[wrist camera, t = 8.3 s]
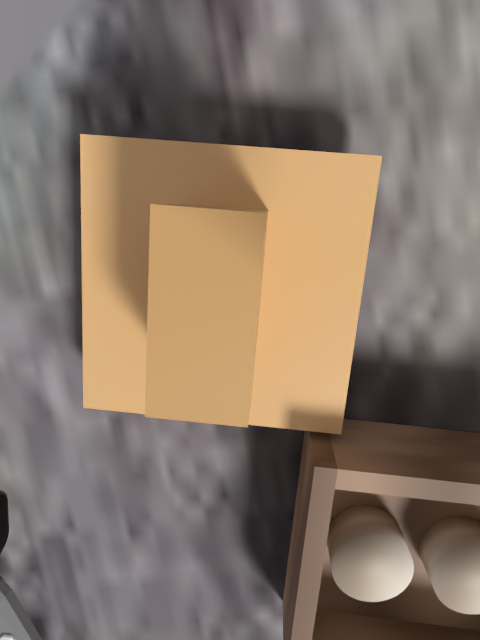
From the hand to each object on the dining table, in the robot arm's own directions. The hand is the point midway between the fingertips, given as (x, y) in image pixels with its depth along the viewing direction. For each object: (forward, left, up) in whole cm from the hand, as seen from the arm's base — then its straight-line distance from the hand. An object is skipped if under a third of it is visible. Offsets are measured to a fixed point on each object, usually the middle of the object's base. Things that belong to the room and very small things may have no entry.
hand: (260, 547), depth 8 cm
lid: (+2, -2, -11) cm, 12 cm away
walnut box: (-7, +8, -12) cm, 16 cm away
